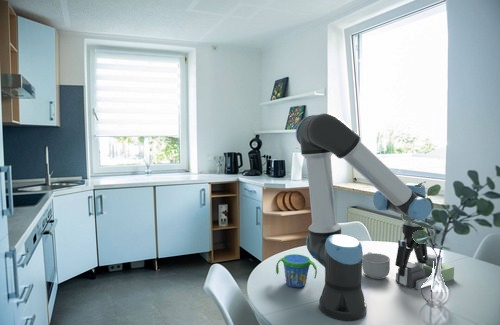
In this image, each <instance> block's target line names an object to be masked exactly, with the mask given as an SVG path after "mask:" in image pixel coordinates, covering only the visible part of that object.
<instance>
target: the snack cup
mask: <svg viewBox="0 0 500 325" xmlns="http://www.w3.org/2000/svg"><path fill="white" fill-rule="evenodd" d="M280 262H282V263H283V269H284V276H285V282H286V284H287V286H288V287H290V288H299V289H300V288H302V287H304V286H306V284H307V279H308V273H309V269H310V265H312V267H313V269H314V270H315V271H314V272H315V274H314V277H313V278H314V279H316V277H317V274H318V269H317V265H316V264H315V262H313V261H312V260H311V259H310V258H309V257H308V256H306V255H304V254H297V253H296V254H287V255H284V256H283V257H281V258H280V259H279V260H278V261H277V262H276V265H275V272H276V275H278V274H279V273H280V272H279V263H280Z"/></svg>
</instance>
